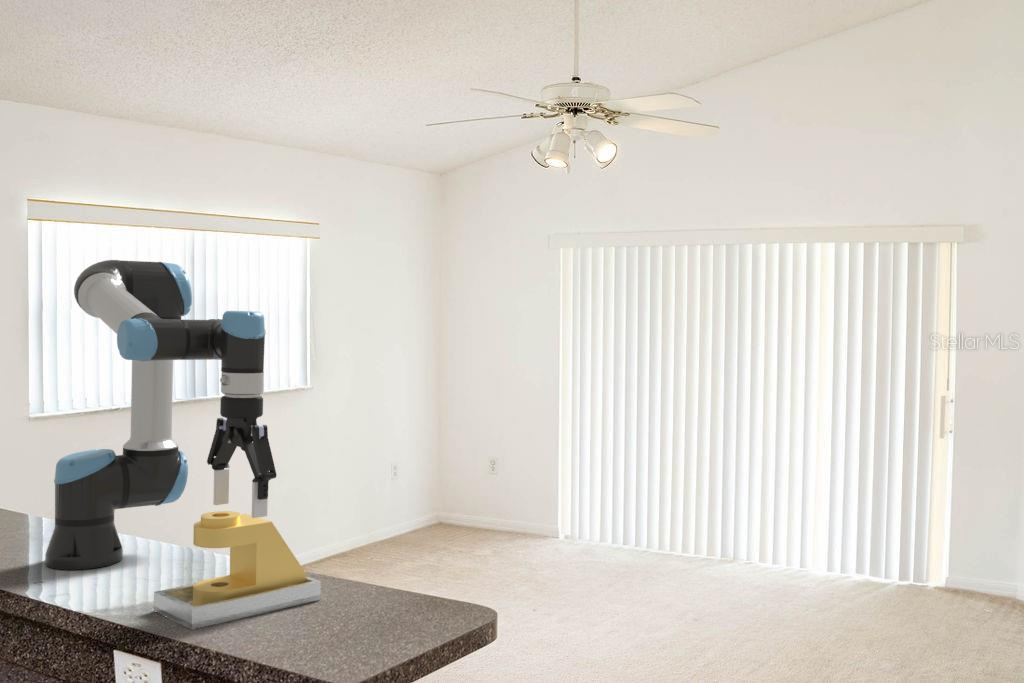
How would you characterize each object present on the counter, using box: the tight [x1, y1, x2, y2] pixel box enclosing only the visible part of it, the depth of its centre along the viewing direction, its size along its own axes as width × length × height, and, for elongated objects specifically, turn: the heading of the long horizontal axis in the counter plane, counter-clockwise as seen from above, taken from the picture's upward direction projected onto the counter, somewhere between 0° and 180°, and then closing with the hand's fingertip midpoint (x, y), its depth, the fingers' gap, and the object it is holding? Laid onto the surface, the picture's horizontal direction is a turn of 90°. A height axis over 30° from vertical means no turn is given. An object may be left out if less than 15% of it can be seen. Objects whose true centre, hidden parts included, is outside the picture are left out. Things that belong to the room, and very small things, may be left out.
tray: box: [153, 576, 322, 631], centre depth 176 cm, size 14×26×4 cm, turn 136°
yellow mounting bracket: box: [192, 510, 307, 607], centre depth 177 cm, size 20×9×16 cm, turn 136°
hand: (239, 510), depth 176 cm, fingers open, 13 cm apart
